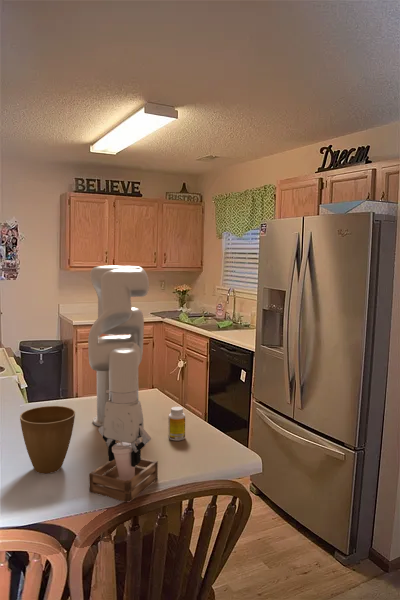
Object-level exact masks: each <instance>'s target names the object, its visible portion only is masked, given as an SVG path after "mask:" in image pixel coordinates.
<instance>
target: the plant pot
mask: <svg viewBox="0 0 400 600" xmlns="http://www.w3.org/2000/svg"><path fill="white" fill-rule="evenodd" d="M75 417H76V410H74V409H73V408H71V407H68V406H61V405H47V406H44V405H43V406H39V407H34V408H30V409H27V410H24V411H23V412H22V413H21V414H20V415H19V420H20V421H19V422H20V427H21V432H22V437H23V441H24V445H25V449H26V451H27V454H28V457H29V460H30V462H31V464H32V468H33V469H34V471H35V472H36V473H38V474H53V473H56V472H58V471H60V470H61V469H62V467H63V464H64V463H65V462H64V461H65V459H66V456H67V453H68V450H69V447H70V443H71V438H72V435H73V434H72V433H73V430H74V424H75V419H76V418H75Z"/></svg>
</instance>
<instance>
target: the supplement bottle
mask: <svg viewBox="0 0 400 600" xmlns="http://www.w3.org/2000/svg"><path fill="white" fill-rule="evenodd" d="M167 427H168V439H169V440H171V441H173V442H175V441H176V442H178V441H183V440H185V438H186V414H185V413H184V408H183V407H182V406H172V407H171V409H170V413H169V414H168V426H167Z"/></svg>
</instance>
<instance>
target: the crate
mask: <svg viewBox="0 0 400 600" xmlns="http://www.w3.org/2000/svg"><path fill="white" fill-rule="evenodd" d="M158 464H159V463H158V461H157V460H153V459H148V458H147V459H146V458H143V457H141V461H140V463H139V464H138V465H136V466H135V476H134V477H133V478H132V479H130V480H127V481H123V480H120V478H119V473H118V469H117V465H116V461H115V459H114V460H113V461H109V460H108V461H107V462H105V463H104V464H102V465H101V466H99V467H97V468H96V469H94V470H93V471H91V472H89V476H88V479H89V480H88V481H89V483H88V484H89V485H88V486H89V488H88V490H89V493H91V494H96V495H99V496H103V497H107V498H110V499H114V500H116V501H117V500H118V501H121V502H125V503H128V502H127V501H130V500H131V501H133V500H134V499H135V498H136V497H138V496H139V495H140V494H141V493H142V492H144V491H145V490H147V488H149V486H151V485H152V484H153V483H155V482H156V481H157V480H158V472H159V471H158V468H159V466H158ZM131 501H130V502H131Z"/></svg>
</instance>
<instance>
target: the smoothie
mask: <svg viewBox="0 0 400 600" xmlns="http://www.w3.org/2000/svg"><path fill="white" fill-rule="evenodd" d="M116 443H117V444H115V445H113V446H112V452H113V453H114V457H115V461H116V466H117V469H118V473H119V478H120V480H123V481H127V480H130V479H132V478H133V477H134V476H135V467H132V466H131V453H132V452H133V448H132V446H131V443H127V442H122V441H119V442H116Z"/></svg>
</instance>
